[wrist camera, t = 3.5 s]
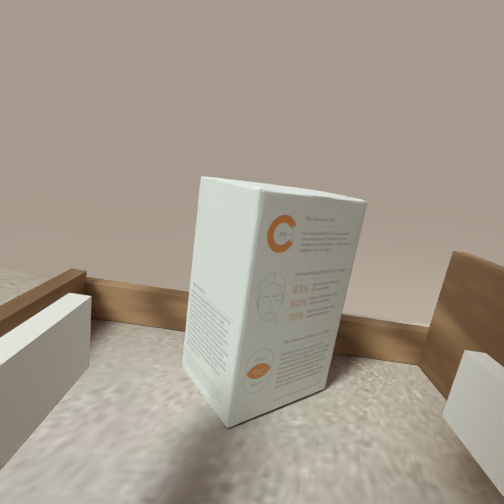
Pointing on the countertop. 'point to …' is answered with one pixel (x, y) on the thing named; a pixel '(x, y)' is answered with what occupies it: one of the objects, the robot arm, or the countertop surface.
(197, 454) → the countertop surface
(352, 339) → the wooden u-shaped frame
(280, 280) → the small box
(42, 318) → the robot arm
